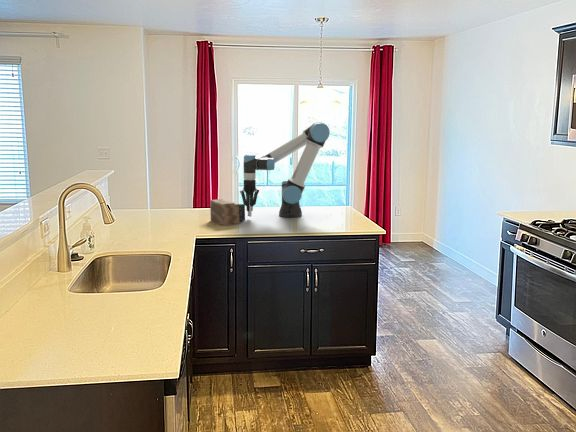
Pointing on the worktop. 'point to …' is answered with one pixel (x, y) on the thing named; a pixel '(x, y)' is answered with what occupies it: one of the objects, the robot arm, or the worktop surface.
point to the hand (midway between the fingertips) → (249, 216)
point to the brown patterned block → (224, 212)
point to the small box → (241, 212)
